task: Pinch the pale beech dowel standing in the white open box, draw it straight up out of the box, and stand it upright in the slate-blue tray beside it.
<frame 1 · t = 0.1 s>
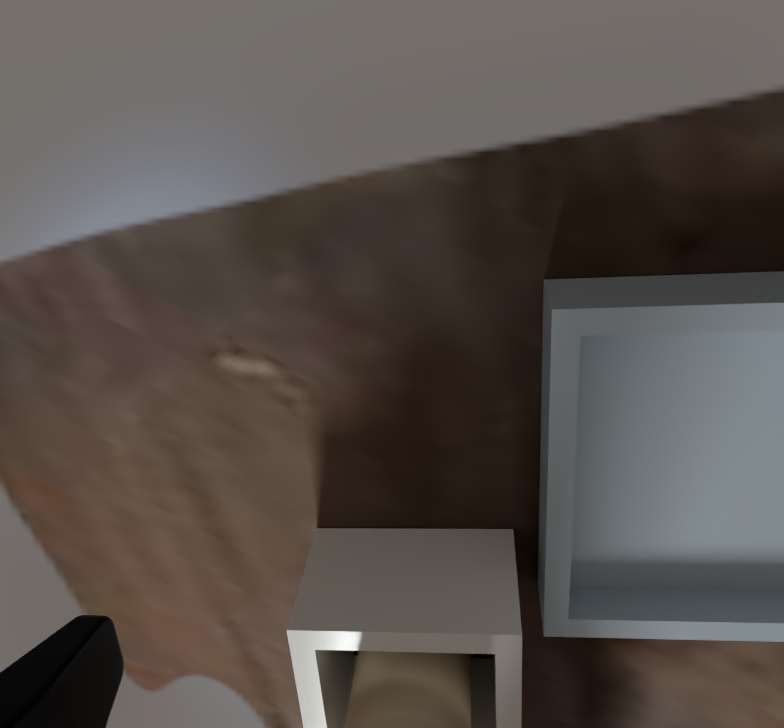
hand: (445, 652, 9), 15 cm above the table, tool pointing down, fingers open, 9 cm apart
white open box: (418, 603, 28), on the table
slate tray: (757, 446, 24), on the table
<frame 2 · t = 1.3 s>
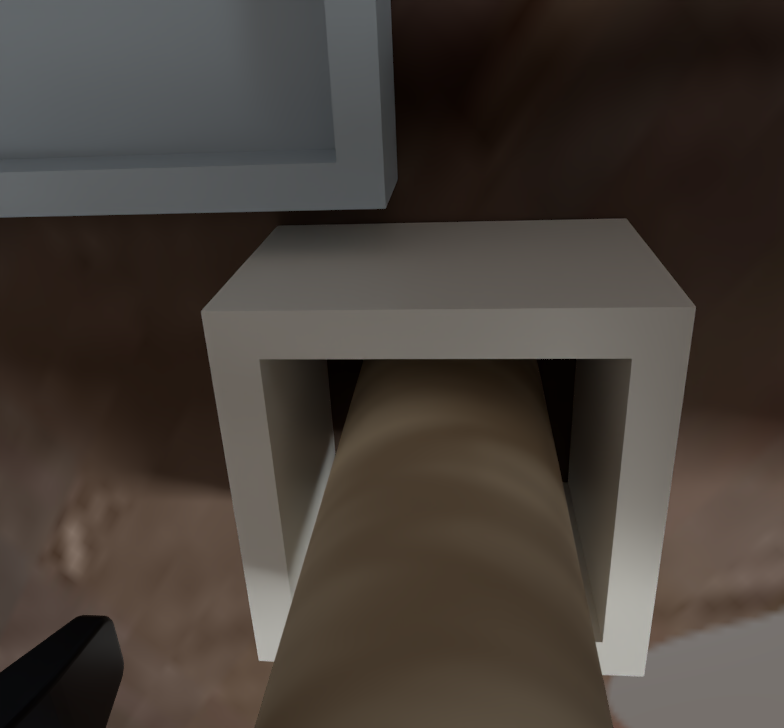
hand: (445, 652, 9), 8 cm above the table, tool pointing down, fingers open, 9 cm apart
white open box: (449, 377, 17), on the table
beech dowel: (442, 529, 12), in the white open box
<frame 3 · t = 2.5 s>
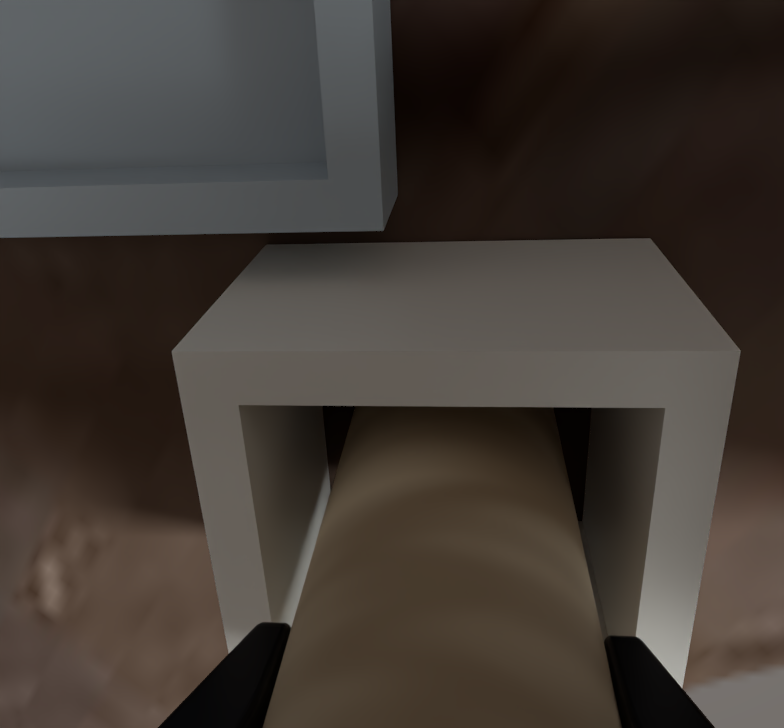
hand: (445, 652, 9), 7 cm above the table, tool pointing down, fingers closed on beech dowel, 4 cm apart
white open box: (454, 409, 15), on the table
beech dowel: (446, 596, 10), in the white open box, touching gripper
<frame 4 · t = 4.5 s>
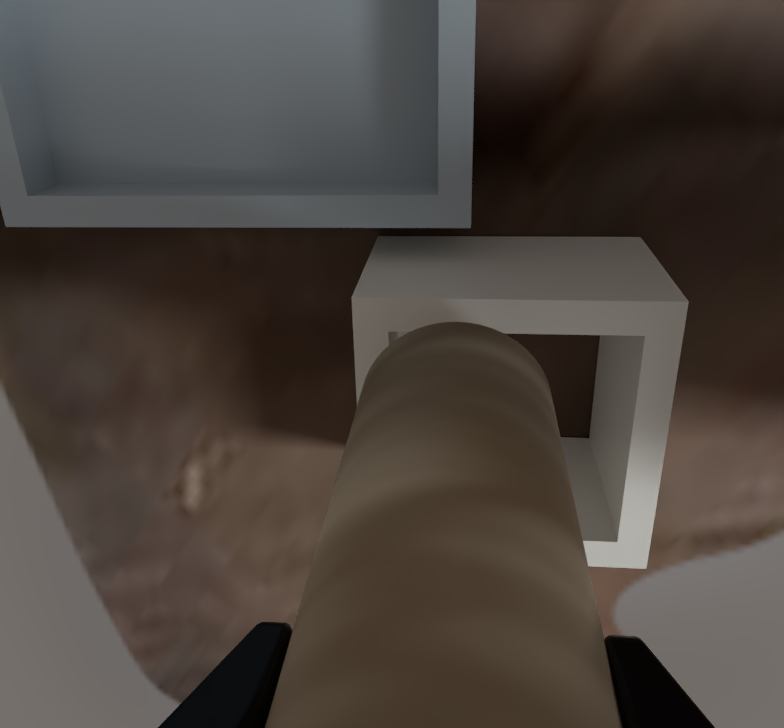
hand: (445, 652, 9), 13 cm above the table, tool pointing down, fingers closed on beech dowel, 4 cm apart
white open box: (501, 354, 22), on the table
beech dowel: (448, 598, 10), point 12 cm above the table, touching gripper
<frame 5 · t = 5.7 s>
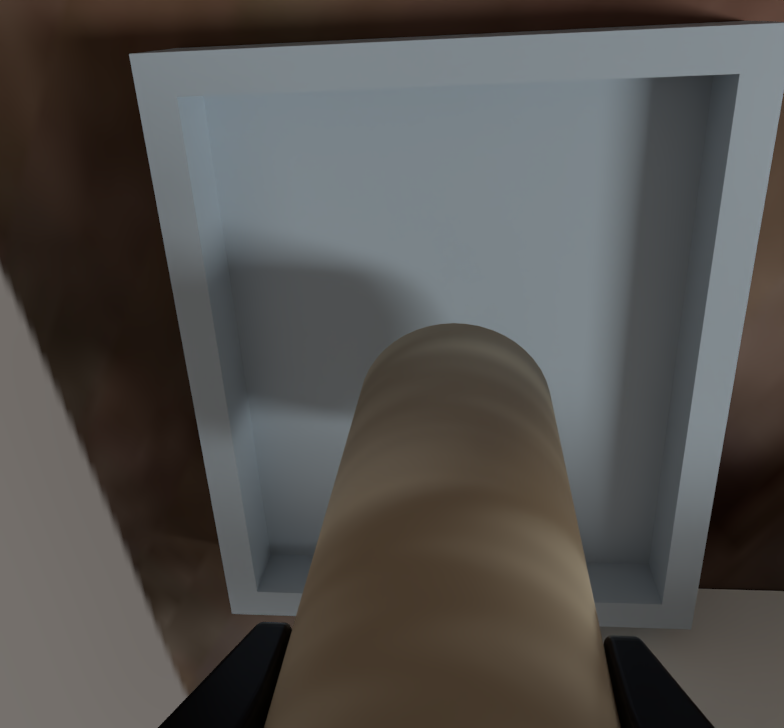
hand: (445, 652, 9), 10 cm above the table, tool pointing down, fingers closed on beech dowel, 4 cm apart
white open box: (683, 678, 23), on the table
beech dowel: (447, 600, 10), point 9 cm above the table, touching gripper
slate tray: (453, 338, 18), on the table
when the fingers open (9 cm above the table, at t = 6.7 s): beech dowel stays where it is, resting on slate tray.
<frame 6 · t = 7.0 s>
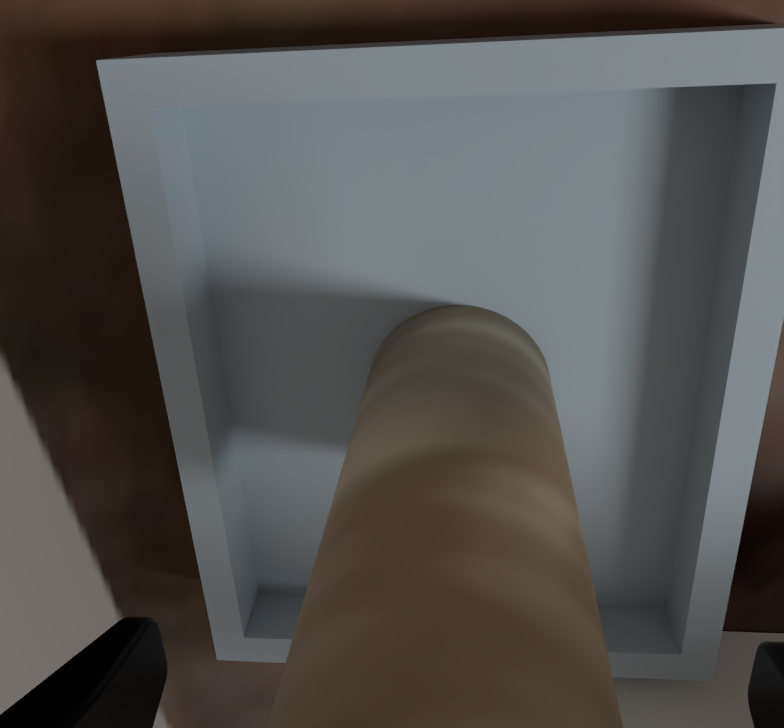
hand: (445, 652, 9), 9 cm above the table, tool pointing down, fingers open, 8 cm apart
white open box: (700, 723, 21), on the table
beech dowel: (451, 554, 11), in the slate tray, point 6 cm above the table
slate tray: (455, 366, 17), on the table
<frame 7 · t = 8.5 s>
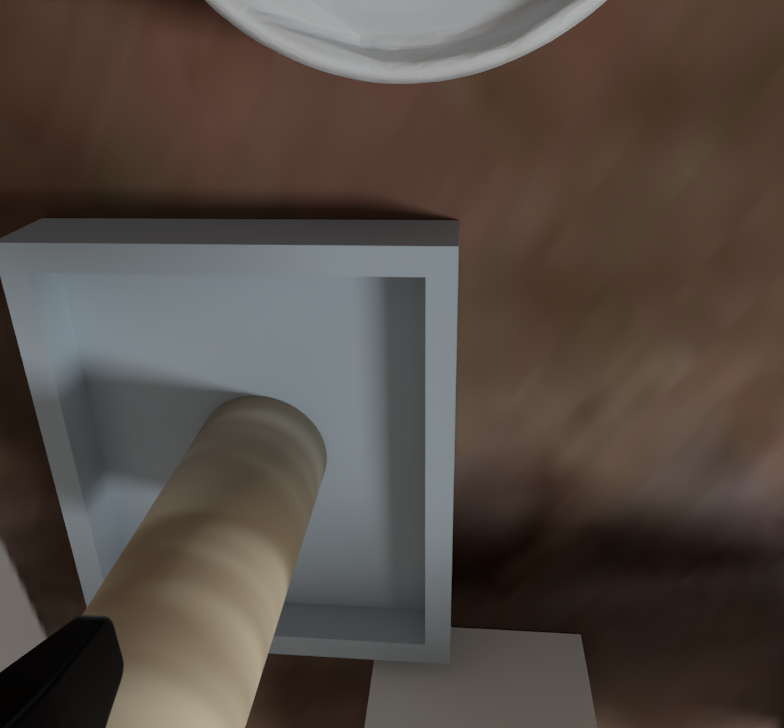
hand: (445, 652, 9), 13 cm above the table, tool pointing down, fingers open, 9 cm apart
white open box: (475, 699, 28), on the table
beech dowel: (206, 575, 18), in the slate tray, point 6 cm above the table
slate tray: (268, 433, 24), on the table
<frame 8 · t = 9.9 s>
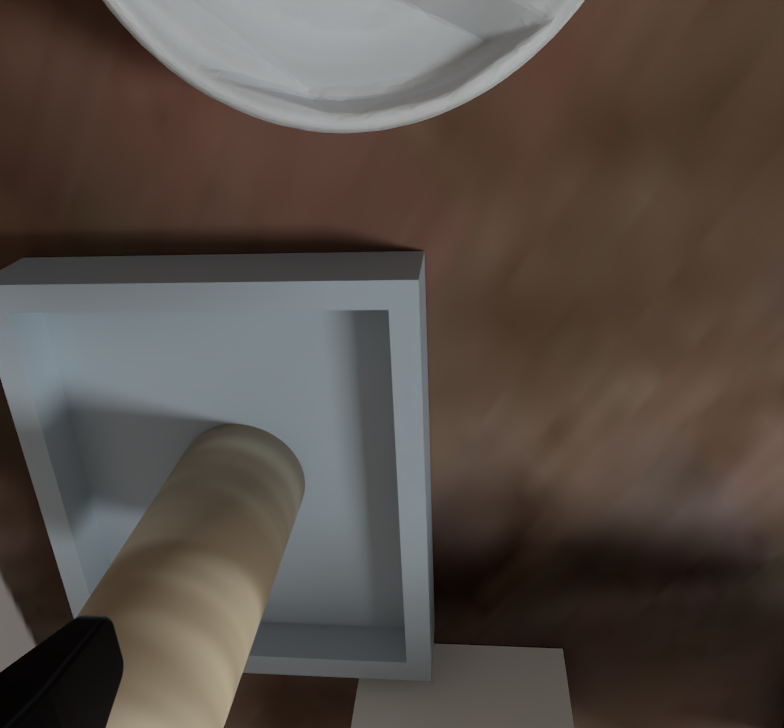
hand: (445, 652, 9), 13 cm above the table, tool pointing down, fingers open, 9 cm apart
white open box: (463, 713, 28), on the table
beech dowel: (182, 602, 18), in the slate tray, point 6 cm above the table
slate tray: (248, 459, 24), on the table
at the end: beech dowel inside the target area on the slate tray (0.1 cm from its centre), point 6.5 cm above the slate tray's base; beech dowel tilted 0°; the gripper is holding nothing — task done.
